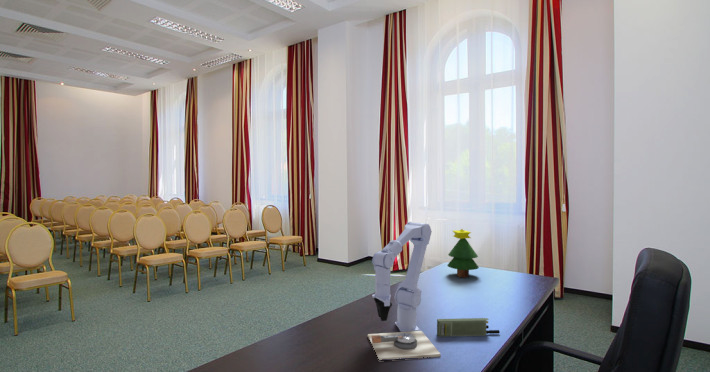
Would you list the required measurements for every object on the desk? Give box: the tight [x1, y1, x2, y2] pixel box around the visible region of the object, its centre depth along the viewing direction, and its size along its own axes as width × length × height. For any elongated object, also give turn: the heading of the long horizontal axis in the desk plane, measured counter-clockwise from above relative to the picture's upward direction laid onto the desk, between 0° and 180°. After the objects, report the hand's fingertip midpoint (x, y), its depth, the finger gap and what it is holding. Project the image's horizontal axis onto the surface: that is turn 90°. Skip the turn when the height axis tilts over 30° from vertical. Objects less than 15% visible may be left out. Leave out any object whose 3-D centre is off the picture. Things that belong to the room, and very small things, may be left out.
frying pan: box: [372, 333, 415, 344], centre depth 138 cm, size 7×16×2 cm, turn 99°
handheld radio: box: [436, 317, 500, 338], centre depth 150 cm, size 7×3×25 cm
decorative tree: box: [446, 228, 479, 278], centre depth 239 cm, size 19×19×30 cm
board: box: [367, 330, 442, 361], centre depth 140 cm, size 20×22×2 cm
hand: (382, 318), depth 145 cm, fingers open, 3 cm apart
